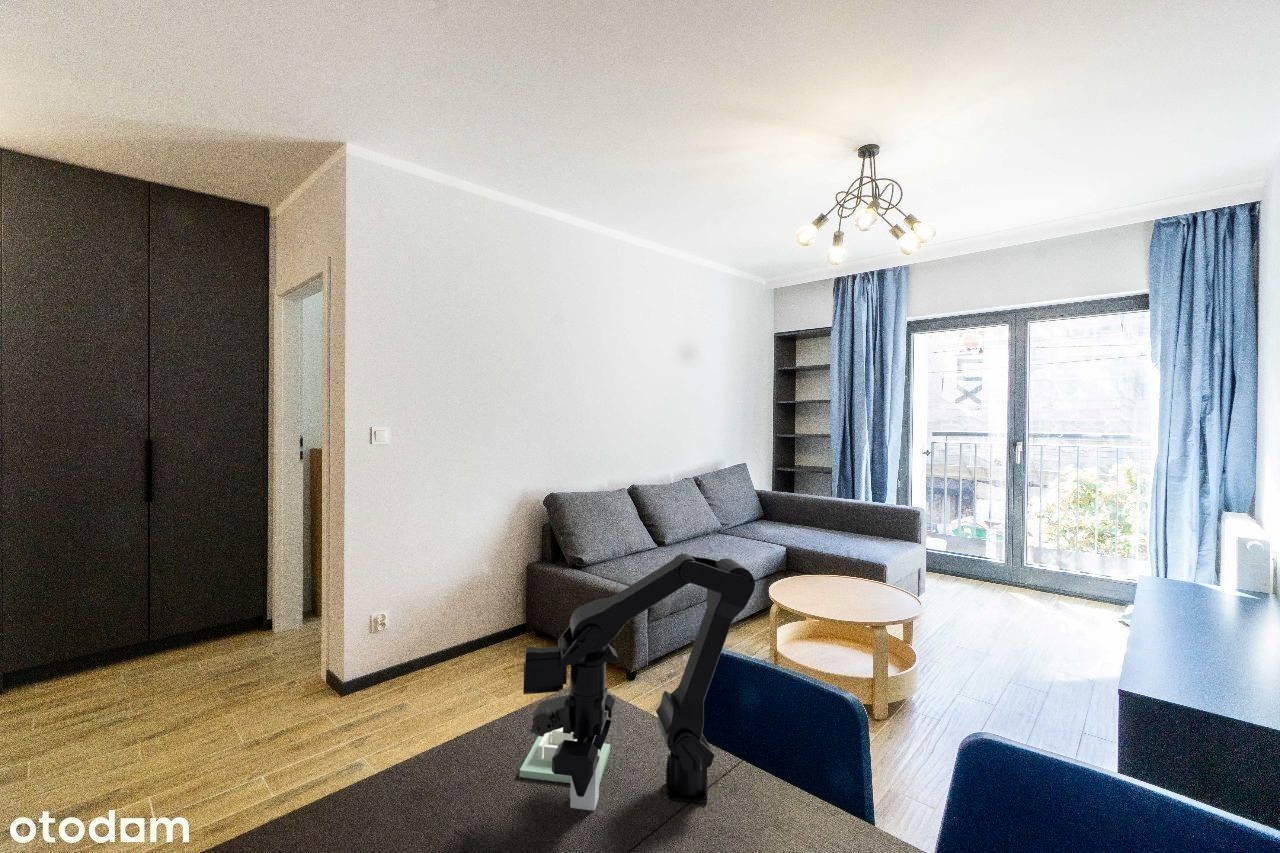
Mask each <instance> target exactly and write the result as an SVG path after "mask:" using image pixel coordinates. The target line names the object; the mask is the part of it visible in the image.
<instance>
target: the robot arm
mask: <svg viewBox="0 0 1280 853" xmlns="http://www.w3.org/2000/svg"><path fill="white" fill-rule="evenodd" d="M688 584H692V585H696V586H699V587H701V588H704V589H706V609H705V612H704V614H703V618H702V619H701V620H702V621H701V622H700V623H701V624H700V626H699V630H698V632H697V633H696V634H697V635H696V637H695V639H694V642H693V645H692V649H691V650H690V654H689V657H688V659H687V662H686V664H685V668H684V671H683V673H682V676H681V679H680V681H679V685H678V686H677V688H675V689H674V690H673V691H672V692H671V693H670V692H669V691H667V690H664V691H663V693H662V696H661V701H660V704H659V706H658V708H657V709H656V710H655V713H656V715H657V724H658V725H657V726H658V727H659V730H660V732H661V734H662V737H663V739H664V741H665V744H666V746H667V748H668V750H669V752H670V754H667V757H666V759H667V760H666V764H665V765H666V767H665V768H666V772H665V773H666V774H665V787H666V789H668V790H667V799H668V800H670V801H678V802H687V803H693V804H694V803H696V804H703V805H705V804H708V796H709V795H708V794H709V793H708V792H709V785H708V784H709V777H708V768H711V766H712V764H713V762H714V759H715V754H714V752H713V750H712V748H711V746H710V744H709V743H708V741H707V739H706V737H705V735H704V734H703V732H704V731H703V730H704V725H705V709H704V708H705V700H706V697H707V693H708V691H709V688H710V685H711V682H712V679H713V676H714V675H715V671H716V668H717V665H718V662H719V660H720V656H721V654H722V652H723V648H724V645H725V643H726V639H727V637H728V634H729V631H730V628H731V625H732V624H733V620H735V618H736V617H737V616H738V615H740V614H741V612H743V611H744V610H745V609H746V607H747V605H748V603H749V601H750V599H751V597H752V596H753V594H754V593H755V588H756V580H755V578H754V576H753V573H751V571H750V570H748V569H747V568H745V567H744V566H742V564H740V563H738V562H737V561H736V560H734V559H732V558H727V557H725V558H720V559H719V560H716V559H713V558H709V557H702V556H701V557H700V556H694V555H690V554H687V553H680V554H678V555H676V556H675V557H673V559H671V561H669V562H667V563H665V564H664V565H662V566H661V567H659V568H658V569H656V570H654V571H653V572H651V573H649V574H647V575H646V576H644V577H643V578H641V579H640V580H638V581H636V582H634V583H633V584H631V585H629V586H628V587H627V588H624V589H623V590H621V591H620V592H619V593H616V594H614V595H611V596H608V597H603V598H602V597H601V598H597V599H595V600H592V601H589V602H588V603H585V604H583V605H580V606H578V607H577V608H576V609H575V610H574V611H573V612H572V614H571V617H570V620H569V625H568V627H567V628H566V629H565V631H564V632H563V633H562V634H561V636H560V637H559V638H558V640H557V642H558V646H548V647H536V646H530V647H529V646H527V647H526V648H525V656H524V657H525V658H524V659H525V660H524V662H523V682H522V683H523V685H522V686H523V690H522V691H523V692H522V694H523V695H535V694H549V693H559V692H560V691H563V690H564V685H566V684H567V682H568V681H567V679H568V666H570V667H569V668H570V672H569V694H568V695H561V696H558V697H557V696H556V697H553V698H549V699H547V700H546V699H545V700H543V701H541V702H540V703H539V704H538V705H537V707H536V709H535V711H534V712H533V714H532V725H531V728H532V730H534V731H535V733H536V734H537V735H538V736H542V735H543V734H545V733H549V732H552V731H553V730H557V729H560V728H562V727H563V733H567V734H570V733H571V732H573V736H572V739H576V740H577V741H570V740H564V741H563V742H561V743H560V744H559V745H558V747H557V749H556V751H555V754H554V756H553V758H552V772H553V773H554V774H558V775H567V776H571V777H572V780H573V784H574V787H575V791H576V794H577V796H579V797H584V795H585V792H586V790H587V788H588V785H589V783H590V781H591V778H592V776H593V774H594V771H595V769H596V767H597V764H598V761H599V758H600V757H599V756H598V749H600V751H601V748H602V746H603V743H605V740H606V738H607V737H608V736H607V735H608V733H609V732H610V728H611V725H612V720H611V719H613V717H614V714H615V711H616V700H615V699H614V698H613V696H612V695H611V694H608V691H609V690H608V689H609V687H606V674H607V671H606V668H607V663H617V662H618V661H619V656H618V654H617V651H616V648H614V647H612V646H611V645H610V644H609V643H611V642H612V641H613V640H614V639H615V638H617V636H618V635H619V634H620V632H621V631H622V630H623V628H624V626H626V625H627V623H629V622H630V621H631V620H633V619H634V618H636V617H638V616H639V615H641V614H642V613H644V612H646V611H647V610H648V609H650V608H652V607H653V606H655V605H657V604H658V603H660V602H661V601H664V599H666V598H667V597H669V596H672V594H674V593H675V592H677V591H679V590H681V589H682V588H684V587H686V586H687V585H688ZM543 736H544V735H543Z"/></svg>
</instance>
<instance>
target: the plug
mask: <svg viewBox="0 0 1280 853" xmlns="http://www.w3.org/2000/svg"><path fill="white" fill-rule="evenodd" d="M598 756H599V757H600V749H598ZM599 763H600V758H599V761H598V764H597V767H596V769H595V771H594V774H593V776H592V778H591V781H590V783H589V785H588V788H587V790H586V792H585V795H584V797H579V796H577V794H576V791H575V787H574V784H573V780H572V777H571V783H570V796H569V798H570V799H569V800H570V801H569V802H570V804H569V806H570V807H569V808H572V809H576V810H577V809H578V810H585V811H594V812H595V811H596V808H597V804H598V801H599V796H600V785H599Z"/></svg>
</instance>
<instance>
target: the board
mask: <svg viewBox="0 0 1280 853" xmlns="http://www.w3.org/2000/svg"><path fill="white" fill-rule="evenodd" d="M572 736H573V732H571V733H570V734H567V733H563V730H562V729H557V730H553V731H552V738H551V732H549V733H545V734H544V735H543V736H542V735H537V738H536V740H535V742H534V744H533V745H532V747H531V748H530V750H529V752H528V754H527V756H526V758H525V760H524V761H523V763H522V765H521V767H520V768H519V778H525V779H532V780H542V781H549V782H550V781H551V782H556V783H557V782H558V783H568V784H571V776H567V775H558V774H554V773H553V772H552V758H553V756H554V754H555V751H556V749H557V747H558V745H559V744H560V743H561V742H563V741H564V740H570V741H577V740H576V739H572ZM610 752H611V744H610V743H606V742H604V743H603V746H602V748H601V751H600V763H599V786H600V783H601V781H602V778H603V774H604V771H605V768H606V764H607V762H608V759H609V756H610Z"/></svg>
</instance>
